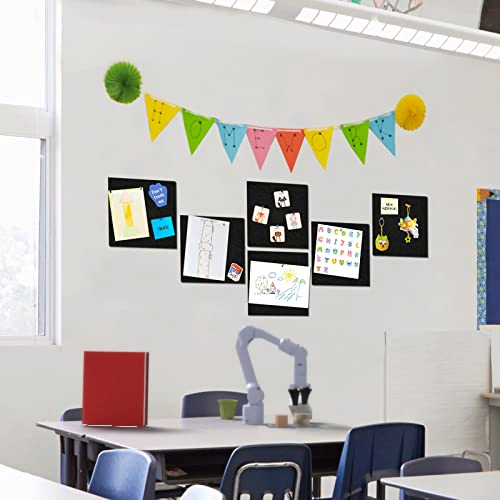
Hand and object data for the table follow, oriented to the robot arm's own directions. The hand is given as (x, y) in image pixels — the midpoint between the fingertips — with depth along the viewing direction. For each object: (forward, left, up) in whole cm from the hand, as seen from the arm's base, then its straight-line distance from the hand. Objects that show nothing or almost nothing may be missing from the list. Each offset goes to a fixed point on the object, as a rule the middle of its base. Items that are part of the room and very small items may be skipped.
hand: (299, 405), depth 447 cm
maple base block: (0, -2, -9) cm, 9 cm away
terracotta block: (-10, -7, -9) cm, 15 cm away
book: (-81, +2, -9) cm, 82 cm away
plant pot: (-27, +34, -9) cm, 45 cm away
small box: (+5, +13, -7) cm, 15 cm away
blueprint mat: (-4, -4, -9) cm, 11 cm away
